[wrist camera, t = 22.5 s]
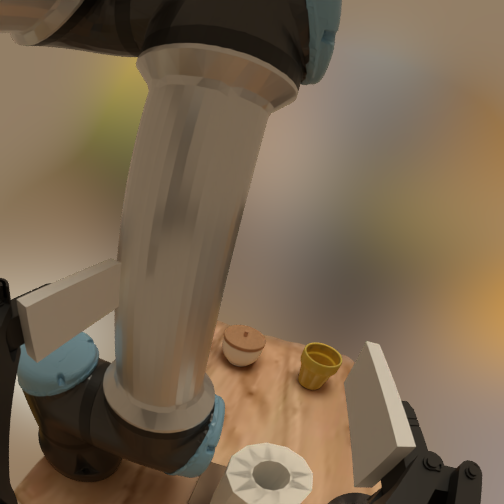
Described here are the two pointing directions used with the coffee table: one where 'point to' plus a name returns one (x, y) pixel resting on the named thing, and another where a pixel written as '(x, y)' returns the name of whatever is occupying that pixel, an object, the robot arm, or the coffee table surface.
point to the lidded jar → (242, 345)
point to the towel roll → (264, 477)
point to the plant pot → (318, 365)
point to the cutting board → (207, 484)
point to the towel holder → (351, 499)
